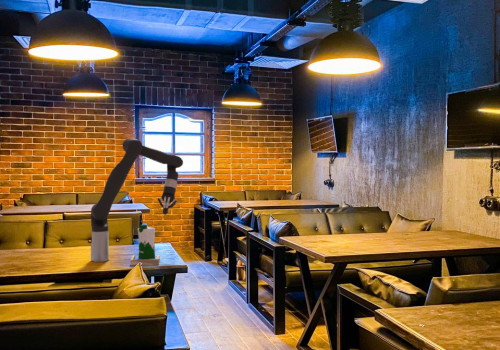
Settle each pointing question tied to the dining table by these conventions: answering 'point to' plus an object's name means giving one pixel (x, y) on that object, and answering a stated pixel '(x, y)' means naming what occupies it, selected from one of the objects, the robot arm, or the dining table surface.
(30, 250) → the dining table surface
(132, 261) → the stop tray
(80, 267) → the dining table surface
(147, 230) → the soya milk
